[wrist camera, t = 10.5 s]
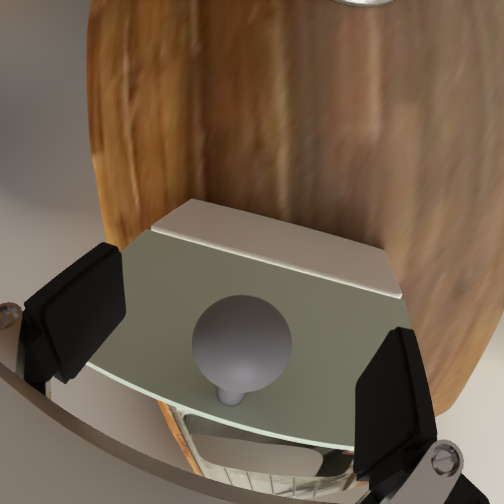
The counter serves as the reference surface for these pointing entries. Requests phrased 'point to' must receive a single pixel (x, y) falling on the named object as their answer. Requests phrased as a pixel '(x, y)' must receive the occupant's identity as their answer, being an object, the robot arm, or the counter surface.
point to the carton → (282, 245)
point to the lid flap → (245, 340)
